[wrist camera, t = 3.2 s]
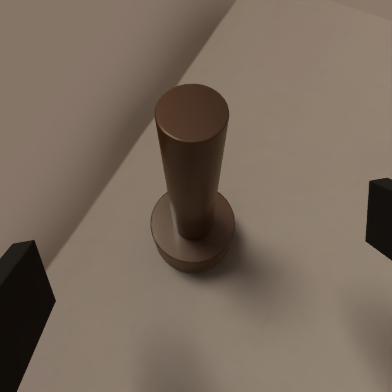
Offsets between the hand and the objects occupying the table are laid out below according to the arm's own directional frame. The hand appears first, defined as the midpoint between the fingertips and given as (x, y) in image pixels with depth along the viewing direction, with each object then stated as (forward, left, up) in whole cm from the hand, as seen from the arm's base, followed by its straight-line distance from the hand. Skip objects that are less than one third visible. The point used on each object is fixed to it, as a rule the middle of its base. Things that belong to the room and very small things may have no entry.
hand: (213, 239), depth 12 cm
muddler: (0, +4, -11) cm, 11 cm away
